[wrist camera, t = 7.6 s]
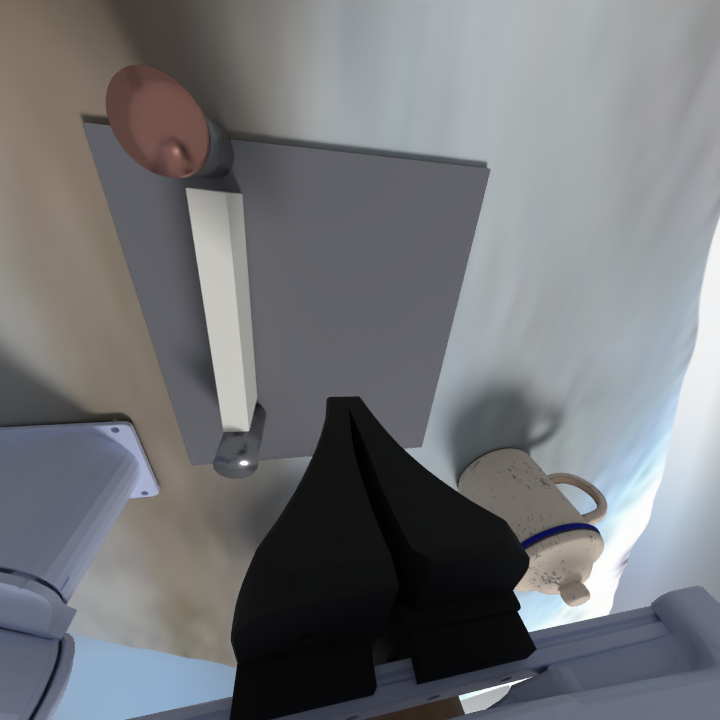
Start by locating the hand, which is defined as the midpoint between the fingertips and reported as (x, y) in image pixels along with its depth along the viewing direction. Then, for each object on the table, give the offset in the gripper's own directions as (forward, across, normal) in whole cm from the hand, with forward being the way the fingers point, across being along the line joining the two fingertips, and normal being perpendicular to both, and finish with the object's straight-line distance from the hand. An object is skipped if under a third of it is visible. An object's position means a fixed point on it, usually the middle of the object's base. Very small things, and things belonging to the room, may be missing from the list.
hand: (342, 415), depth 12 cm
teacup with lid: (+9, -21, +16) cm, 28 cm away
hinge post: (+9, +6, +7) cm, 13 cm away
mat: (+9, +1, +1) cm, 9 cm away
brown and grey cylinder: (+9, +6, -9) cm, 14 cm away
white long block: (+9, +6, -1) cm, 10 cm away
